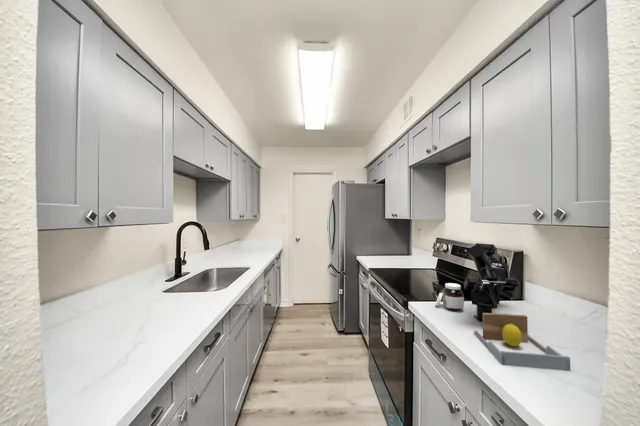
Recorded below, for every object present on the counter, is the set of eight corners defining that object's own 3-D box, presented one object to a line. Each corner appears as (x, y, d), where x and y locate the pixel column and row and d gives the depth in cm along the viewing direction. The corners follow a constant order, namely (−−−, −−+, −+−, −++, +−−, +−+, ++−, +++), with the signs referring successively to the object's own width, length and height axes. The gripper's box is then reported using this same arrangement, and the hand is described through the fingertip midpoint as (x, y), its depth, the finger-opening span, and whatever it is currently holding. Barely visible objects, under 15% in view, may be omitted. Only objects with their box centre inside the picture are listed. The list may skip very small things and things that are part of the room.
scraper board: (482, 337, 98) (482, 312, 98) (525, 340, 95) (524, 315, 95) (484, 339, 96) (484, 314, 96) (527, 342, 94) (527, 316, 94)
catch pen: (474, 334, 101) (474, 324, 101) (527, 338, 97) (527, 327, 97) (502, 365, 80) (501, 352, 80) (570, 371, 77) (570, 357, 77)
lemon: (502, 341, 95) (502, 319, 95) (522, 346, 91) (521, 323, 92) (501, 347, 91) (501, 324, 91) (521, 352, 87) (521, 328, 87)
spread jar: (466, 312, 123) (466, 287, 123) (442, 312, 123) (441, 287, 123) (454, 304, 135) (453, 281, 135) (431, 304, 135) (431, 281, 135)
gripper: (502, 280, 116) (516, 314, 105) (456, 278, 119) (466, 312, 108) (512, 265, 108) (528, 301, 97) (462, 264, 111) (473, 298, 100)
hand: (497, 304), depth 101 cm, fingers closed
